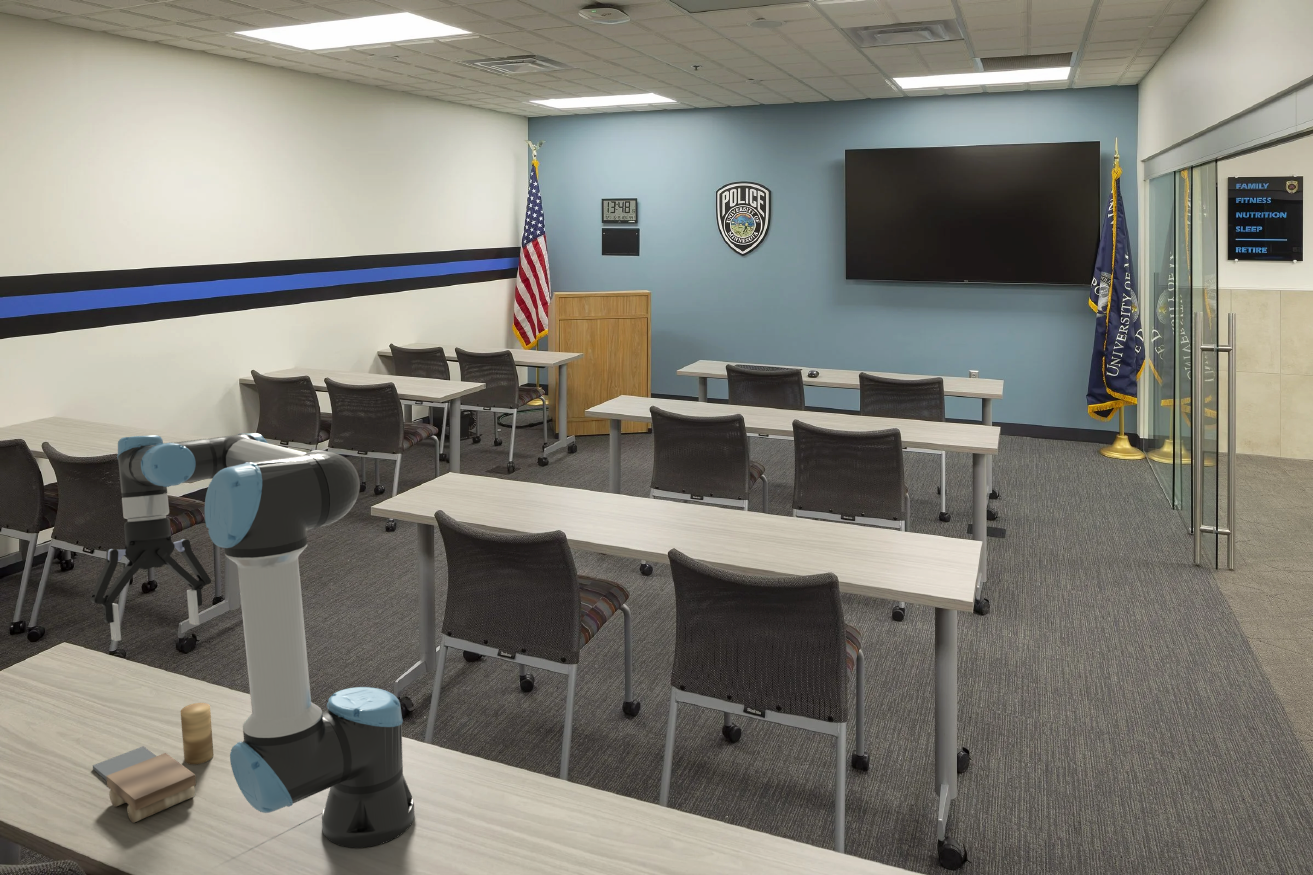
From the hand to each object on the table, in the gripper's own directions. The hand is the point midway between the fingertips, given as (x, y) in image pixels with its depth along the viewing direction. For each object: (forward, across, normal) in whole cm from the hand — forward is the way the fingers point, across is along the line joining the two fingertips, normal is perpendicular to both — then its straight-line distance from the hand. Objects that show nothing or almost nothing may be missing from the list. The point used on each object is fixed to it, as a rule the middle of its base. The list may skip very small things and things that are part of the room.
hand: (156, 631), depth 172 cm
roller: (+25, -5, +1) cm, 26 cm away
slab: (+28, +6, +9) cm, 30 cm away
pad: (+25, +5, -4) cm, 26 cm away
